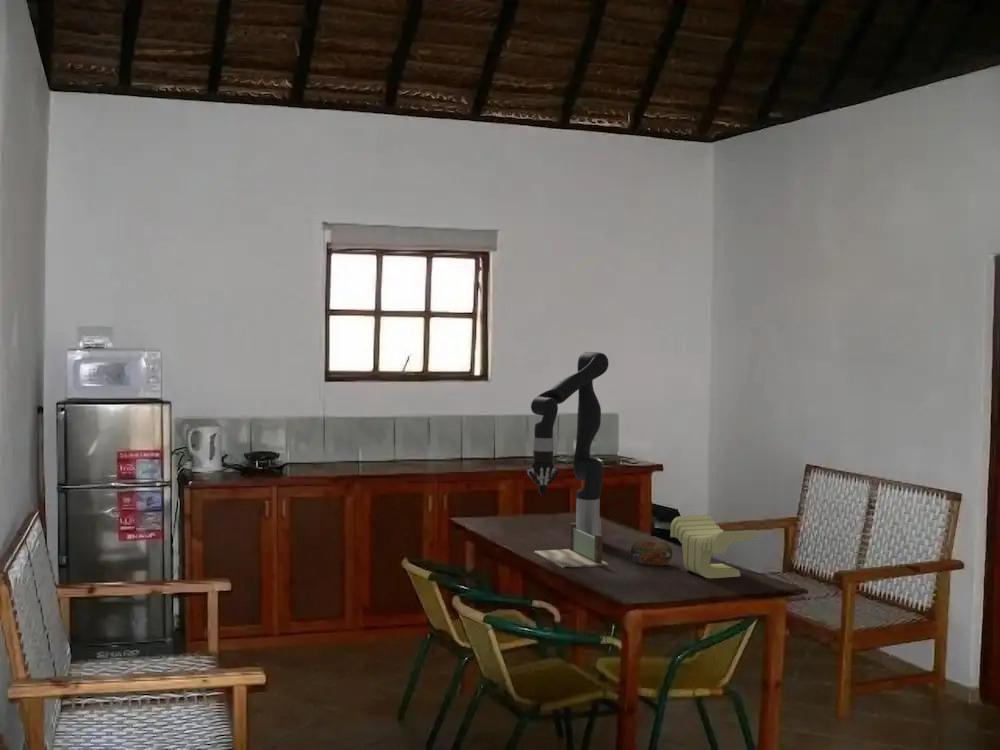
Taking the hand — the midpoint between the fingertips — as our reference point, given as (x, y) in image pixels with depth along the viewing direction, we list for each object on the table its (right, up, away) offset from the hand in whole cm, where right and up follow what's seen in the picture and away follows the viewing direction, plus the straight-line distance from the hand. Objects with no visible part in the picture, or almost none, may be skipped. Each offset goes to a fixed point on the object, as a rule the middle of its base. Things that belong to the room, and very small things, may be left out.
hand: (542, 494), depth 418 cm
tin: (+39, -23, -21) cm, 50 cm away
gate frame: (+10, -22, -16) cm, 29 cm away
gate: (+15, -21, -14) cm, 29 cm away
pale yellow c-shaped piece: (+58, -24, -35) cm, 71 cm away
